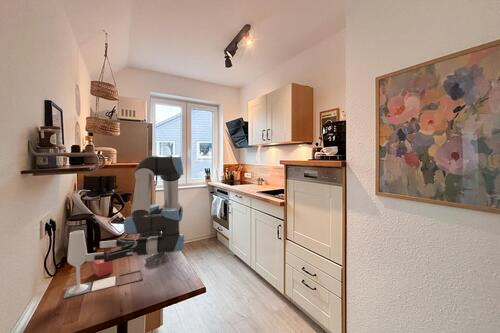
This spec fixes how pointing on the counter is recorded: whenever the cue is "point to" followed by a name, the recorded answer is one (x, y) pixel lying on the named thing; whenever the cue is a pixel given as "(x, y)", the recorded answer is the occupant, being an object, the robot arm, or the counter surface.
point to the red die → (102, 267)
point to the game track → (100, 284)
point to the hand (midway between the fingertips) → (93, 250)
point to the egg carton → (156, 259)
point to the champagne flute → (77, 257)
